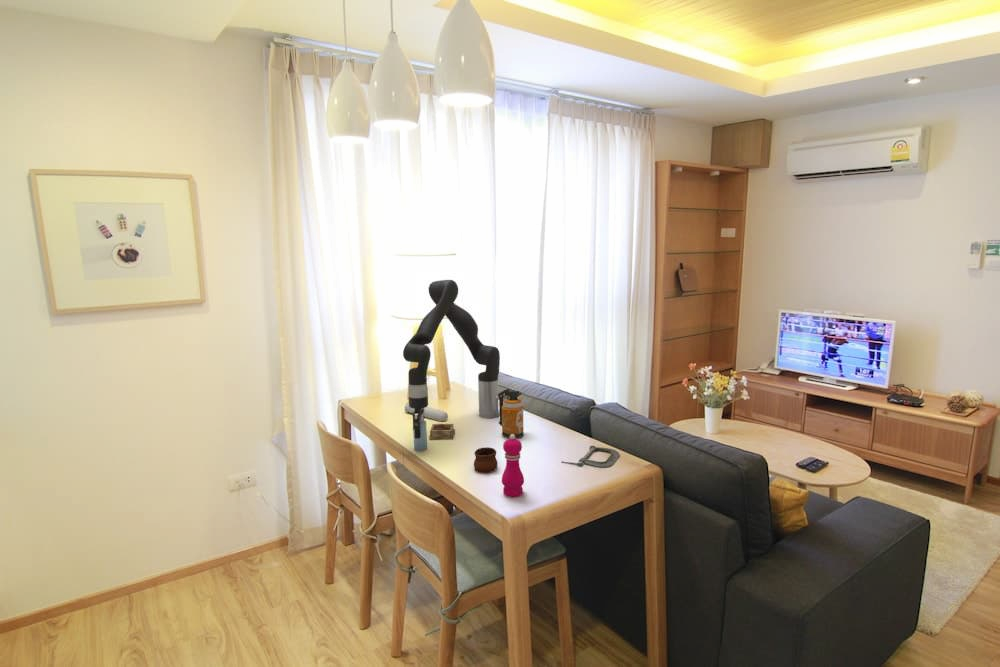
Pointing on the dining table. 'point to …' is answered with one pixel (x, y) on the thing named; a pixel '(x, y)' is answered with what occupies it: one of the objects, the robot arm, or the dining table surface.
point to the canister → (511, 413)
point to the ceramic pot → (485, 460)
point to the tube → (430, 413)
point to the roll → (421, 438)
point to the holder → (442, 432)
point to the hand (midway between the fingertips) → (419, 434)
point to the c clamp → (605, 464)
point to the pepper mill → (512, 468)
